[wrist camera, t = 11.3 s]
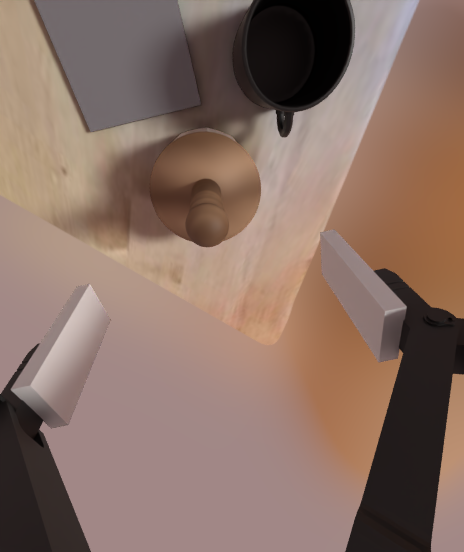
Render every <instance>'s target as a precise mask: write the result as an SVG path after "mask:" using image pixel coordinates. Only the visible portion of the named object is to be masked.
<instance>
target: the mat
mask: <svg viewBox="0 0 464 552" xmlns="http://www.w3.org/2000/svg"><path fill="white" fill-rule="evenodd" d="M34 1H35V3H36V6H37V8H38V10H39V13H40V15H41V17H42V20H43V22H44V24H45V27H46V29H47V31H48V34H49V36H50V38H51V41H52V43H53V45H54V48H55V50H56V52H57V55H58V57H59V59H60V62H61V64H62V66H63V69H64V71H65V73H66V76H67V78H68V80H69V83H70V85H71V87H72V90H73V92H74V94H75V97H76V99H77V101H78V104H79V106H80V108H81V111H82V113H83V115H84V118H85V120H86V122H87V125H88V127H89V129H90V132H93V131H97V130H101V129H105V128H109V127H113V126H117V125H121V124H125V123H129V122H133V121H137V120H141V119H146V118H150V117H154V116H158V115H162V114H166V113H170V112H174V111H178V110H182V109H186V108H190V107H194V106H198V105H201V102H200V97H199V93H198V89H197V84H196V80H195V75H194V71H193V67H192V62H191V58H190V54H189V49H188V45H187V40H186V36H185V32H184V27H183V23H182V18H181V14H180V10H179V5H178V1H177V0H34Z"/></svg>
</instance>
